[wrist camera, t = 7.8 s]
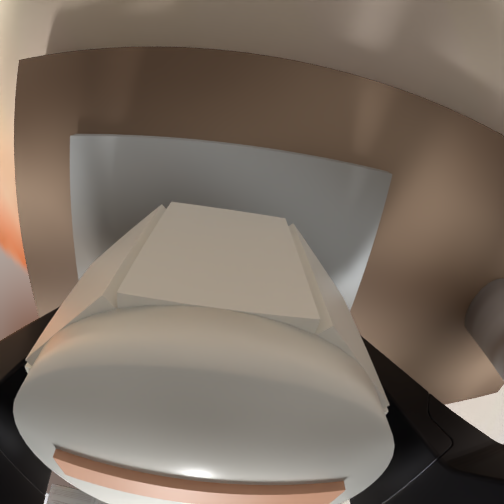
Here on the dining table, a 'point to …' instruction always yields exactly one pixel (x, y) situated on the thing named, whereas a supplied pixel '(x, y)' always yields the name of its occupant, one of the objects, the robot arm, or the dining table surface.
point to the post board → (277, 186)
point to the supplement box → (70, 496)
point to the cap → (206, 371)
